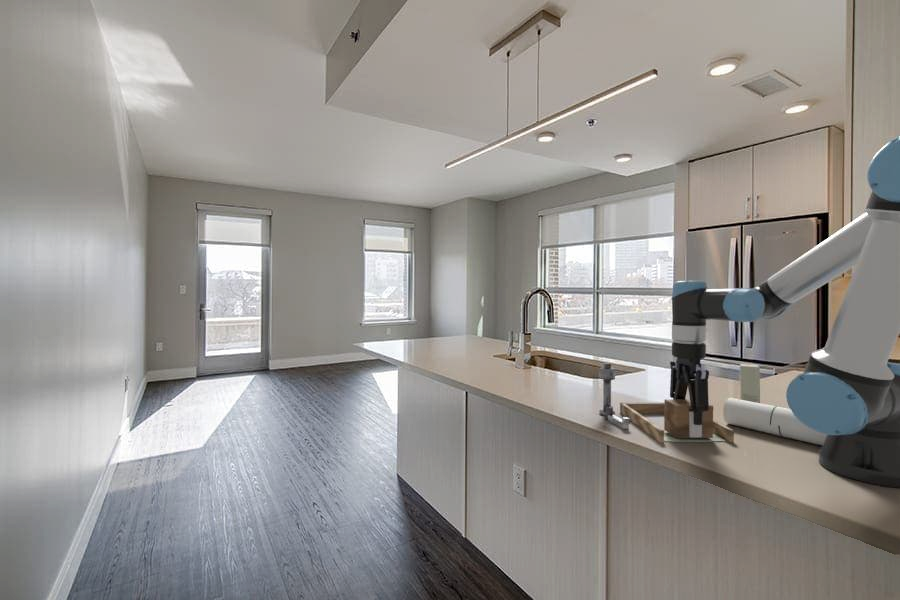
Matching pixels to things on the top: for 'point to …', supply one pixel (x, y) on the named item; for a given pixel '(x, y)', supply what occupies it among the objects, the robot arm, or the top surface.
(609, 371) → the post
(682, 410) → the block
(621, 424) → the crank handle
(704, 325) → the robot arm
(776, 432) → the cylindrical container
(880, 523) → the top surface
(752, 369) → the box
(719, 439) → the bay
